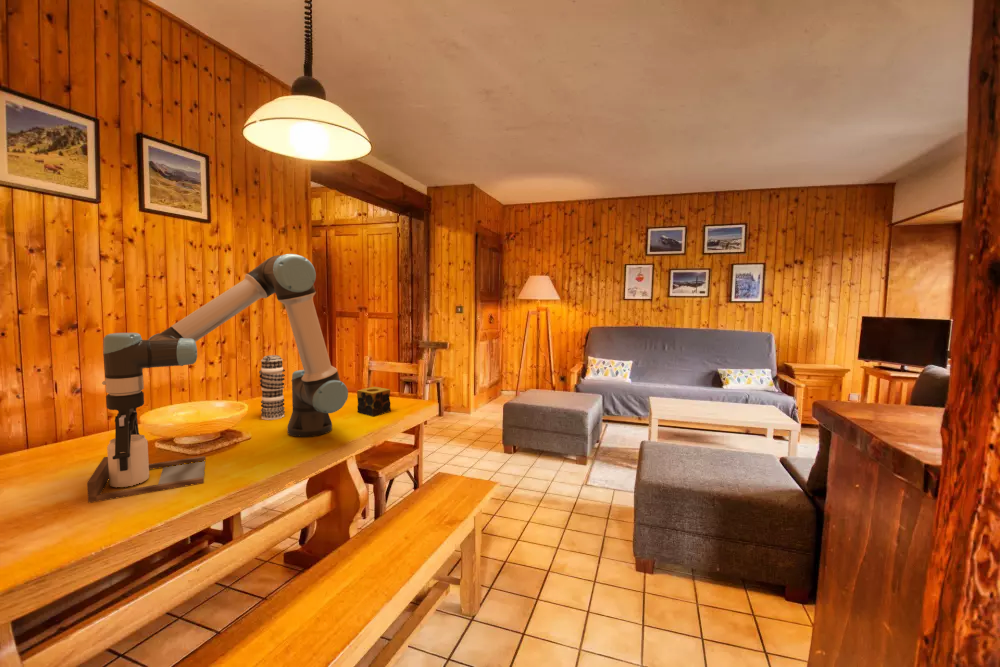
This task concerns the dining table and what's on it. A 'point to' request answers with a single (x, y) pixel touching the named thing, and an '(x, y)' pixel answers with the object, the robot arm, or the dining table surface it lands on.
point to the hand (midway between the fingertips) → (129, 473)
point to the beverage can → (137, 457)
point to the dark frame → (168, 479)
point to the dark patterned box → (373, 401)
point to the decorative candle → (272, 387)
